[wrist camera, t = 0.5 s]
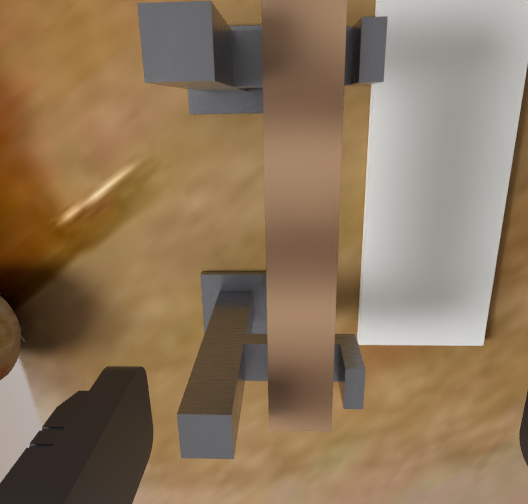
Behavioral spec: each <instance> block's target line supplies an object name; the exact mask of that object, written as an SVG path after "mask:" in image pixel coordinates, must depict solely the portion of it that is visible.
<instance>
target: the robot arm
mask: <svg viewBox="0 0 528 504" xmlns="http://www.w3.org/2000/svg"><path fill="white" fill-rule="evenodd" d="M152 443H153V422H152V414H151V406H150V398H149V391H148V383H147V376H146V371H145V369H144V368H143V367H115V366H108V367H106V368H105V369H104V370H103V371H102V373H101V374H100V376H99V377H98V378H97V380H96V381H95V383H94V384H93V386H92V387H91V389H90V390H89V391H78V392H77V393H75V394H74V395H73V396H71V397H70V398H69V399H67V400H66V401H65V402H63V403H62V404H60V405H59V406H58V407H57V408H56V409H55V410H54V412H53V413H52V414H51V416H50V417H49V418H48V420H47V421H46V423H45V424H44V425H43V427H42V431H39V432H38V433H37V435H36V436H35V438H34V439H33V440H32V441H31V443H30V447H29V448H26V449H25V451H24V452H23V453H22V455H21V456H20V458H19V459H18V461H17V462H16V463H15V464H14V466H13V467H12V468H11V470H10V471H9V473H8V474H7V475H6V476H5V478H4V479H3V480H2V482H1V483H0V504H132V502H133V500H134V497H135V494H136V492H137V489H138V487H139V484H140V481H141V479H142V476H143V473H144V471H145V468H146V465H147V463H148V460H149V457H150V454H151V449H152ZM520 446H521V451H522V454H523V457H524V459H525V461H526V463H527V465H528V392H527V397H526V402H525V407H524V412H523V417H522V422H521V427H520Z"/></svg>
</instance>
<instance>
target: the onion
mask: <svg viewBox="0 0 528 504" xmlns="http://www.w3.org/2000/svg"><path fill="white" fill-rule="evenodd" d="M21 338H22V340H23V341H24V342H25V340H24V339H23V337H22V336H21V328H20V326H19V321H18V319H17V317H16V316H15V313H14V312H13V310H12V308H11V307H10V306H9V304H8V303H7V302H6V301H5V300H4V299H3V298H2V297H1V296H0V380H1V379H3V378H4V377H5V376H6V375H8V373H9V372H10V371H11V370H12V368H13V367H14V365H15V363H16V361H17V359H18V356H19V353H20V339H21ZM25 343H26V342H25Z"/></svg>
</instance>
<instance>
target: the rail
mask: <svg viewBox="0 0 528 504" xmlns="http://www.w3.org/2000/svg"><path fill="white" fill-rule="evenodd" d="M261 1H262V58H263V115H264V172H265V229H266V286H267V343H268V399H269V431H319V432H331V425H332V398H333V371H334V344H335V317H336V290H337V263H338V236H339V209H340V182H341V155H342V127H343V100H344V73H345V46H346V19H347V0H261Z"/></svg>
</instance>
